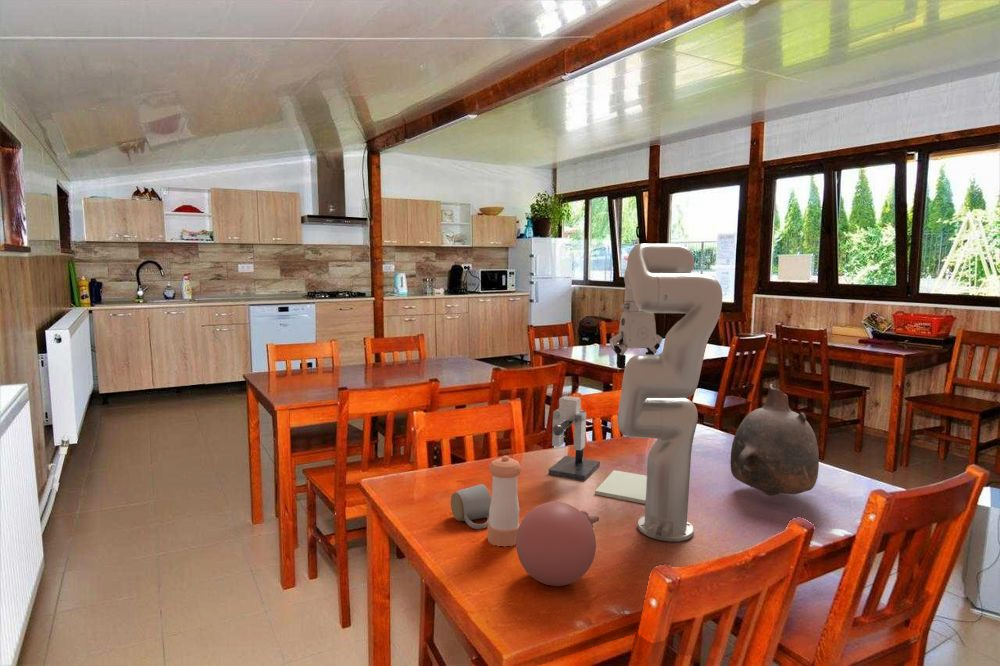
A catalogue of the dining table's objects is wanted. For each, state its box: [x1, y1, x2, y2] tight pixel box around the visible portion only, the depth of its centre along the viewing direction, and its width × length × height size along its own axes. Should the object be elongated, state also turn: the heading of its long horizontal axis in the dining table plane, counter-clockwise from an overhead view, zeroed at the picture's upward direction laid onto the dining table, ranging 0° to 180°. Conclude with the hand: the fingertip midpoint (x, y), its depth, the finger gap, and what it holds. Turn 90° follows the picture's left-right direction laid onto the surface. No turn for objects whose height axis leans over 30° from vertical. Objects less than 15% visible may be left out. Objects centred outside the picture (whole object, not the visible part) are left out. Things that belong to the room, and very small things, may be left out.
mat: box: [594, 469, 647, 505], centre depth 168 cm, size 18×18×1 cm
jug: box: [729, 383, 820, 497], centre depth 163 cm, size 24×21×30 cm
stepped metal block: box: [551, 395, 587, 451], centre depth 174 cm, size 4×8×14 cm, turn 64°
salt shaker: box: [487, 455, 522, 547], centre depth 136 cm, size 7×7×19 cm
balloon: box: [515, 501, 600, 587], centre depth 120 cm, size 15×20×15 cm
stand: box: [548, 409, 601, 482], centre depth 176 cm, size 24×11×18 cm, turn 154°
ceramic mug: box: [450, 483, 492, 530], centre depth 146 cm, size 11×8×8 cm
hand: (635, 367), depth 176 cm, fingers open, 9 cm apart
